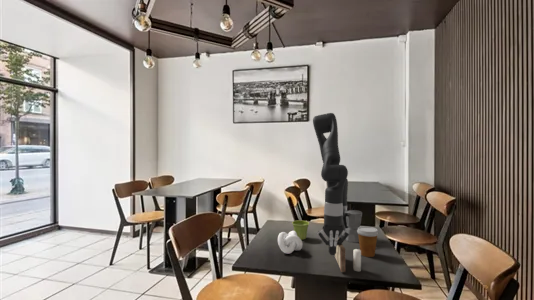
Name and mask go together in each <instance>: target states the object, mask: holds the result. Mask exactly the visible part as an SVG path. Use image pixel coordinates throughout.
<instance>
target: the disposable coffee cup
mask: <svg viewBox="0 0 534 300" xmlns="http://www.w3.org/2000/svg"><path fill="white" fill-rule="evenodd" d="M357 232H358V237H359V242H358V244H359V245H358V246H359V250H361V257H362V256H363V257H364V258H365V257H366V258H373V257H375V254H376V249H377V241H378V235H379V231H378V229H377V228H376V227H371V226H360V227H359V228H358V230H357Z"/></svg>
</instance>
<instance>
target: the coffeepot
mask: <svg viewBox="0 0 534 300" xmlns="http://www.w3.org/2000/svg"><path fill="white" fill-rule="evenodd" d="M351 208H352V209H349V210H348V209H347V211H345V213H344V215H343V220H344V225H345V228H346V232H347V233H348V234H349V235H348V237H347V238H346V239H345V240H344V241H346V242H348V243H359V237H358V232H357V230H358V228H359V227H361V223H362V219H363V218H362V217H363V212H362V211H361V210H356V206H352V207H351Z"/></svg>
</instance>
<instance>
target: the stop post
mask: <svg viewBox="0 0 534 300" xmlns="http://www.w3.org/2000/svg"><path fill="white" fill-rule="evenodd" d="M352 252H353V253H352V254H353V256H352V257H353V260H352V267H353V269H352V270H353V271H354V272H361V270H362V255H361V250H360V248H358V249H357V248H355V249H353V251H352Z"/></svg>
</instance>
